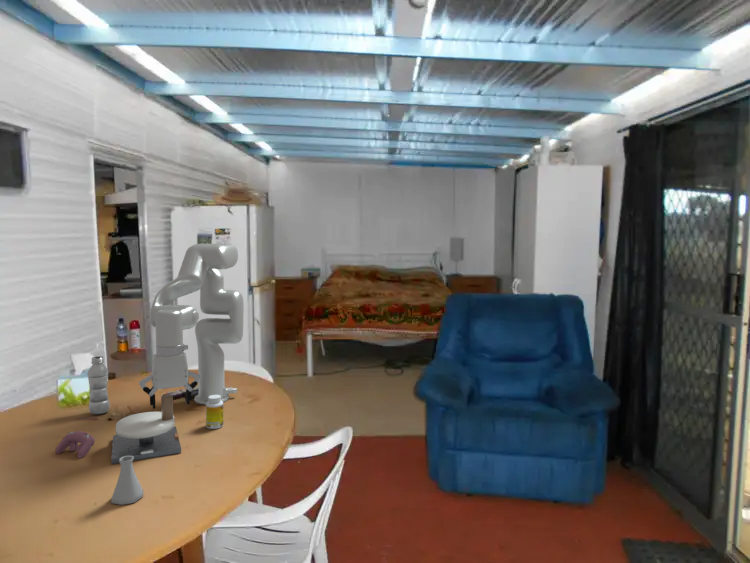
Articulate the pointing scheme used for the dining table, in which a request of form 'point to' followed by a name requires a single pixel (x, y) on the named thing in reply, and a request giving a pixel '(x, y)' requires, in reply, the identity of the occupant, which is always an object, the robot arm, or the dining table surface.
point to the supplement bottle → (214, 412)
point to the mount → (146, 446)
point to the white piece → (148, 421)
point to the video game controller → (76, 443)
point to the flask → (127, 484)
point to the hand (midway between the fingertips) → (171, 405)
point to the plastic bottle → (98, 386)
